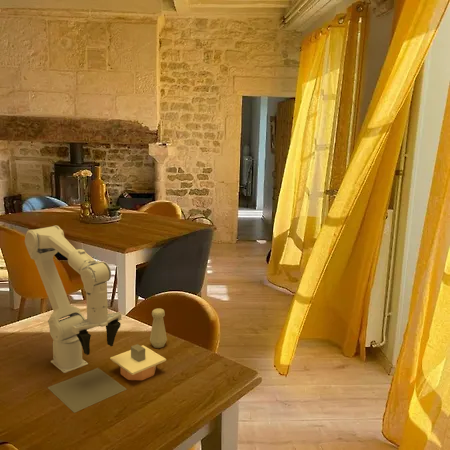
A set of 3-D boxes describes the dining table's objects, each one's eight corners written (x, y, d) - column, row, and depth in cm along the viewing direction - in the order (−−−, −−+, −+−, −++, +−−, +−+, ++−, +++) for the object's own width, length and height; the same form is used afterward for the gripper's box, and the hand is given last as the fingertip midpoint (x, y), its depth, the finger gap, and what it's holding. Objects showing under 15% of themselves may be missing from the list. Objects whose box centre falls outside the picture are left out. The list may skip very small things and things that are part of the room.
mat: (47, 388, 129) (47, 387, 129) (98, 368, 140) (98, 367, 140) (74, 414, 118) (74, 412, 118) (127, 390, 129) (127, 389, 129)
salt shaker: (163, 350, 153) (163, 314, 150) (147, 348, 154) (147, 312, 151) (169, 342, 158) (169, 307, 155) (153, 340, 159) (153, 305, 157)
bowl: (115, 371, 139) (114, 359, 138) (142, 360, 146) (142, 349, 145) (134, 385, 132) (133, 372, 131) (161, 372, 139) (161, 360, 138)
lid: (110, 359, 138) (109, 346, 137) (143, 346, 146) (143, 335, 145) (132, 375, 130) (132, 361, 129) (166, 360, 138) (166, 348, 137)
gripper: (80, 316, 121) (82, 362, 124) (126, 302, 131) (127, 346, 134) (67, 308, 126) (70, 353, 129) (113, 296, 136) (114, 338, 139)
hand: (98, 349), depth 132 cm, fingers open, 7 cm apart
